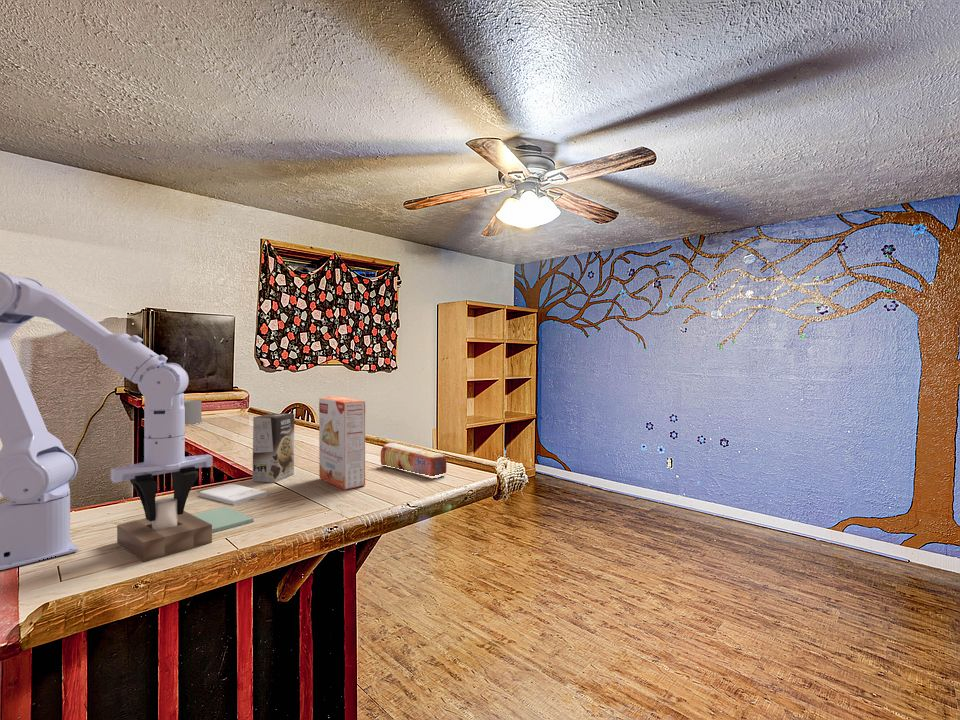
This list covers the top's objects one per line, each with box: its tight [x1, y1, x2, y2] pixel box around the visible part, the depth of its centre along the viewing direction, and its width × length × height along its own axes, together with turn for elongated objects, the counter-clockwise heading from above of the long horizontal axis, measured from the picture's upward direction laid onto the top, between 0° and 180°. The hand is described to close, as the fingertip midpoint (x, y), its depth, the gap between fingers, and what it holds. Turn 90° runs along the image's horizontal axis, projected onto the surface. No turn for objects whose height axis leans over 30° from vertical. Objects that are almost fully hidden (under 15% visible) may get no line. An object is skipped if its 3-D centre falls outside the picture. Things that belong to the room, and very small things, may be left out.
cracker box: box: [318, 395, 366, 491], centre depth 121 cm, size 14×6×21 cm, turn 42°
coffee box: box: [251, 413, 295, 484], centre depth 125 cm, size 9×6×16 cm
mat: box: [192, 506, 255, 534], centre depth 93 cm, size 9×11×1 cm
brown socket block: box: [116, 510, 213, 563], centre depth 82 cm, size 10×12×3 cm
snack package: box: [380, 442, 447, 476], centre depth 133 cm, size 21×7×7 cm, turn 49°
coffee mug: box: [184, 399, 202, 425], centre depth 214 cm, size 13×10×10 cm
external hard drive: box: [198, 483, 268, 506], centre depth 109 cm, size 2×8×12 cm
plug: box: [152, 497, 177, 531], centre depth 82 cm, size 4×4×7 cm
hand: (164, 516), depth 82 cm, fingers closed on plug, 4 cm apart
